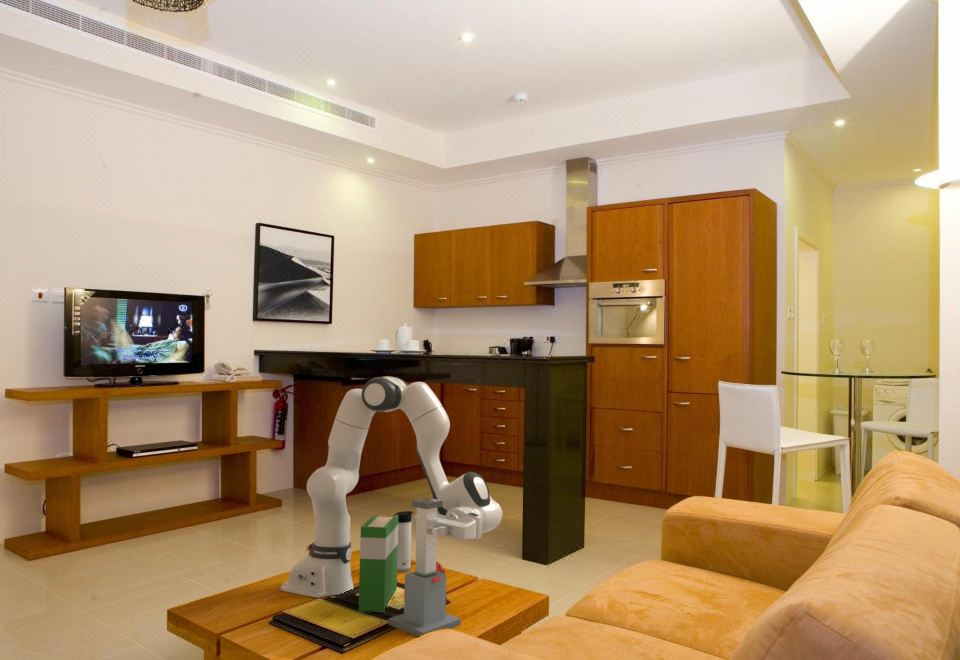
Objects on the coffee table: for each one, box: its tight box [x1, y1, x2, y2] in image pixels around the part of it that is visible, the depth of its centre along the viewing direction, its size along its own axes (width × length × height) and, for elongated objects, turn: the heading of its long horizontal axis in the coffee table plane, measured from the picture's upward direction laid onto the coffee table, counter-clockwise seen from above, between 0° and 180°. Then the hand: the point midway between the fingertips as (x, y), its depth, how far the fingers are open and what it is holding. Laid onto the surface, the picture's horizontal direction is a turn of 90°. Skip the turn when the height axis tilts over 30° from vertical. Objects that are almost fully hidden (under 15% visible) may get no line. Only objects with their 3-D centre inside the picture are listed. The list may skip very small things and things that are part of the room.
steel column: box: [411, 497, 443, 578], centre depth 189 cm, size 6×6×26 cm
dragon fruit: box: [436, 560, 446, 574], centre depth 222 cm, size 8×8×12 cm
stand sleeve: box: [387, 570, 462, 638], centre depth 188 cm, size 14×14×14 cm
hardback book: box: [357, 513, 398, 613], centre depth 206 cm, size 18×7×24 cm, turn 175°
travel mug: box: [393, 510, 414, 573], centre depth 239 cm, size 6×7×20 cm
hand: (424, 530), depth 188 cm, fingers closed on steel column, 4 cm apart
